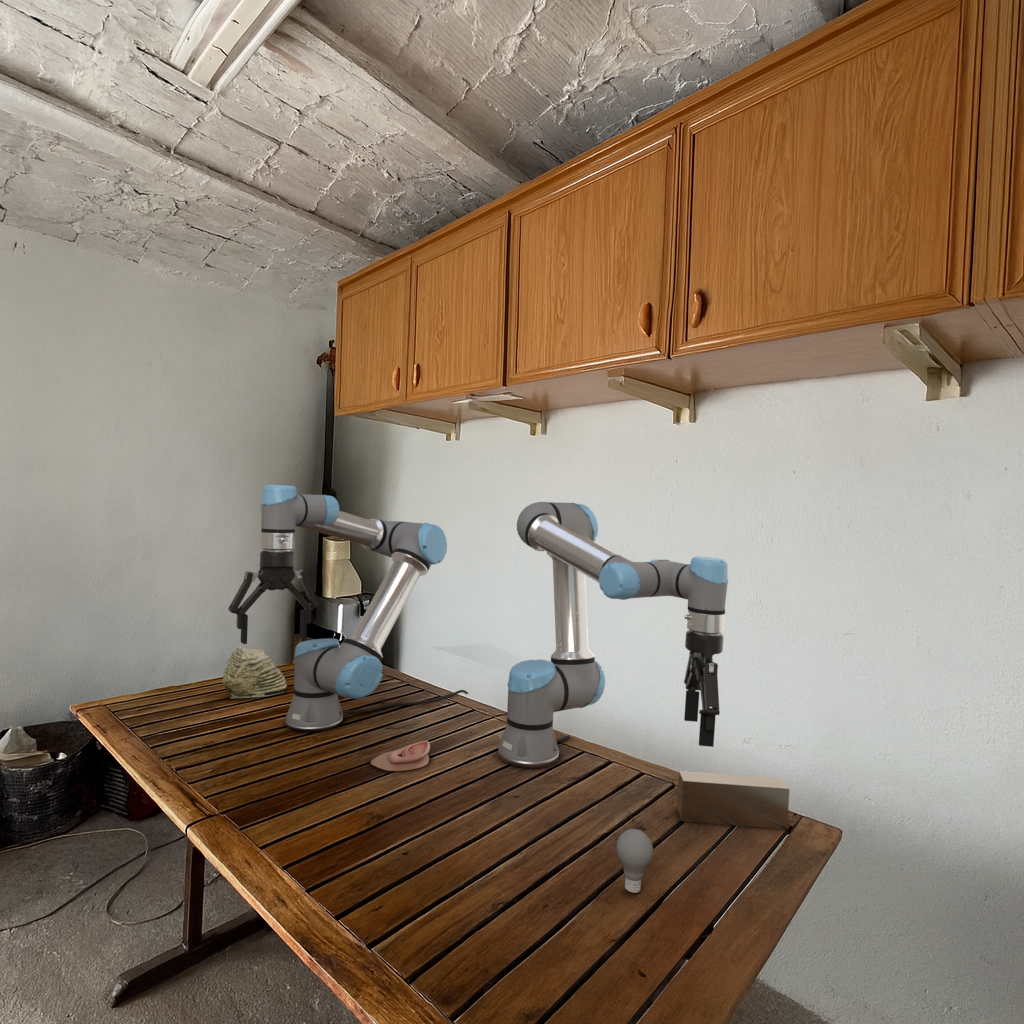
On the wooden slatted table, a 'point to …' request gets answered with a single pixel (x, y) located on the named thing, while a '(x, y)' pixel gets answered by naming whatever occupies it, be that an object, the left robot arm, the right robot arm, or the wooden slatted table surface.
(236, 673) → the fossil
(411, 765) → the anatomical model
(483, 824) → the wooden slatted table surface
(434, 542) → the left robot arm
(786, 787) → the bar
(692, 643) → the right robot arm
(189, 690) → the wooden slatted table surface
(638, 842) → the light bulb
